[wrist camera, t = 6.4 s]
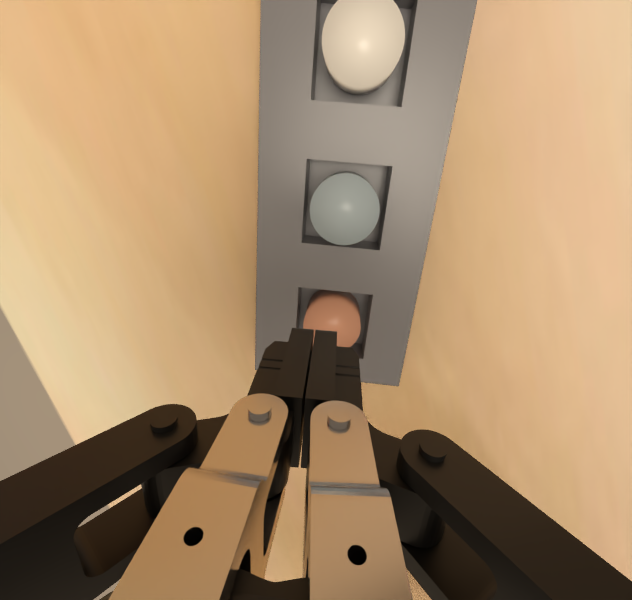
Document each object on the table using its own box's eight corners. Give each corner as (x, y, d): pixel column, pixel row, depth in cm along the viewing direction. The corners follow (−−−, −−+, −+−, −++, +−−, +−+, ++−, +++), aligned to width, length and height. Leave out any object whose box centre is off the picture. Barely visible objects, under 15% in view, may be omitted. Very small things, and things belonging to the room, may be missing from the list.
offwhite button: (403, 11, 21) (411, -10, 18) (391, 97, 23) (397, 90, 20) (328, 6, 21) (325, -16, 18) (322, 92, 23) (318, 84, 20)
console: (470, -30, 22) (488, -57, 19) (394, 366, 32) (398, 386, 30) (272, -42, 22) (262, -70, 19) (262, 351, 33) (255, 369, 30)
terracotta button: (362, 289, 29) (364, 304, 27) (356, 337, 31) (356, 355, 28) (309, 284, 30) (305, 297, 27) (305, 331, 31) (301, 349, 28)
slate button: (380, 174, 24) (384, 177, 22) (371, 238, 26) (374, 248, 23) (316, 168, 25) (312, 170, 22) (311, 232, 26) (307, 241, 24)
